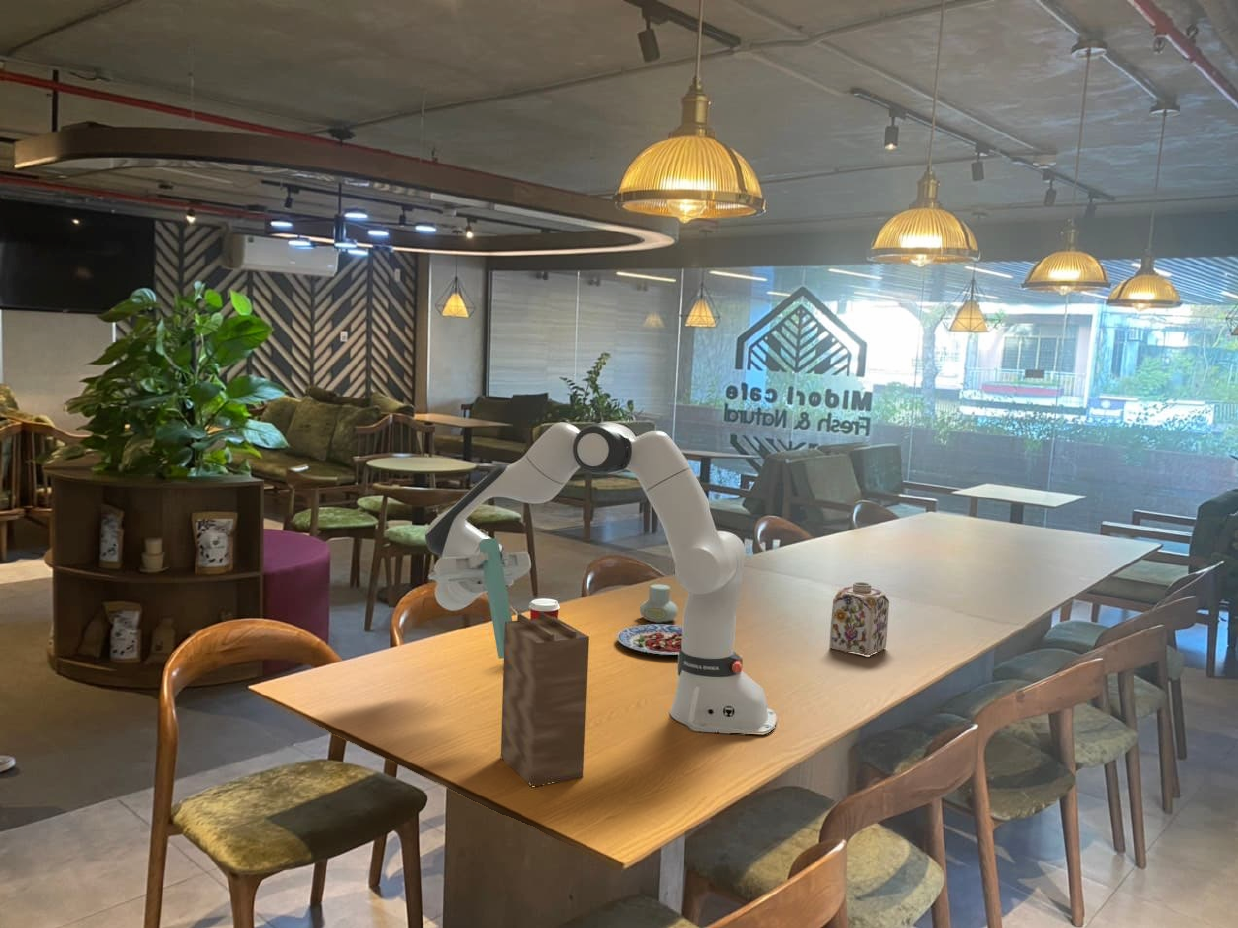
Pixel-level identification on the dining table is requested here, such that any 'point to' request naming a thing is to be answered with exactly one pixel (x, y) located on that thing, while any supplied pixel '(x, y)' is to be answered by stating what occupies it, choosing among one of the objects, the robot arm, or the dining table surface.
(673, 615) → the air freshener
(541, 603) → the paper cup
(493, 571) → the teal rod
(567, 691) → the walnut stand
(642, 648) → the ceramic plate
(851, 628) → the decorative jar
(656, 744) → the dining table surface
